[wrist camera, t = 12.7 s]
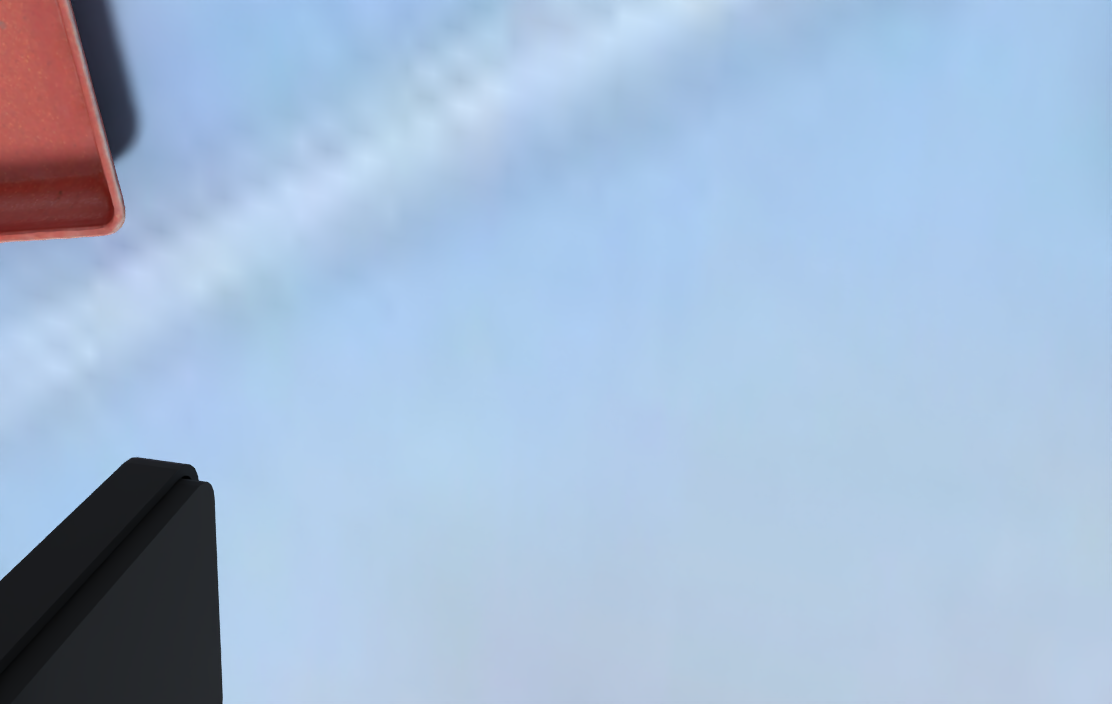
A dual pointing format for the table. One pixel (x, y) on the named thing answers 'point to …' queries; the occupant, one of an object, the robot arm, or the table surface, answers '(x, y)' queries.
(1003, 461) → the table surface
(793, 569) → the table surface
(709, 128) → the table surface
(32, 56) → the plant saucer
